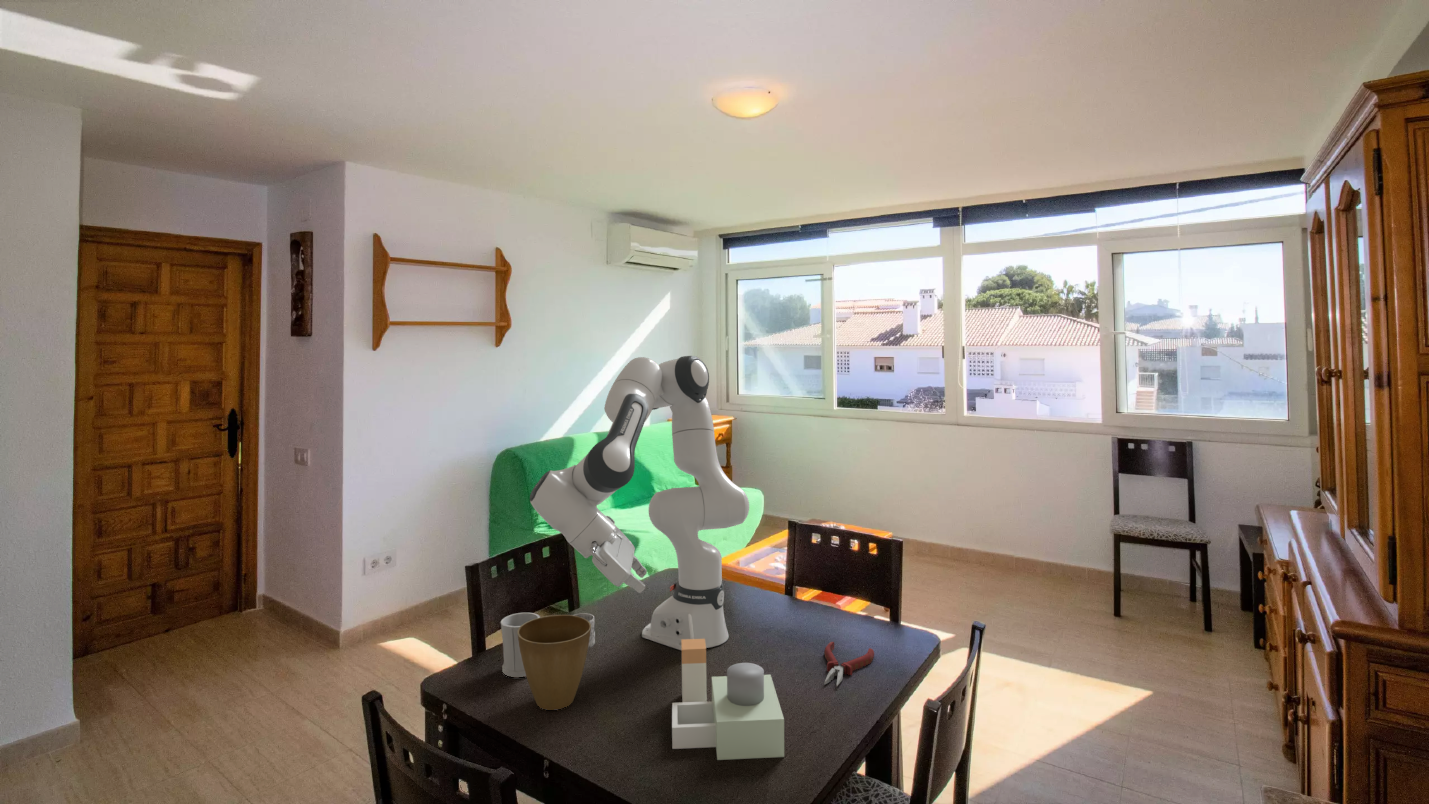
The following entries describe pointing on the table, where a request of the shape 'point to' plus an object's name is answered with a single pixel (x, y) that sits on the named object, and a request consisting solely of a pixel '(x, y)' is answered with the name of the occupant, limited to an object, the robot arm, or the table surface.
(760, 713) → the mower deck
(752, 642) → the table surface
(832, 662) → the pliers
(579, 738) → the table surface
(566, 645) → the plant pot
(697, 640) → the two-tone orange block
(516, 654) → the cup
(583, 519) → the robot arm
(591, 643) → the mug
